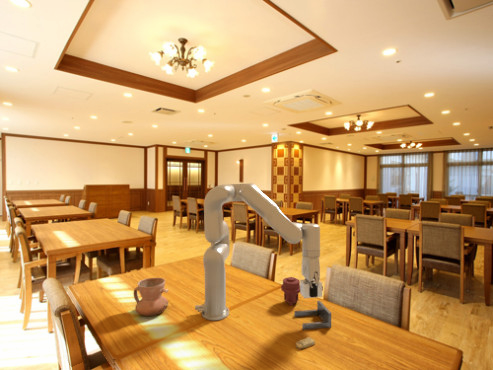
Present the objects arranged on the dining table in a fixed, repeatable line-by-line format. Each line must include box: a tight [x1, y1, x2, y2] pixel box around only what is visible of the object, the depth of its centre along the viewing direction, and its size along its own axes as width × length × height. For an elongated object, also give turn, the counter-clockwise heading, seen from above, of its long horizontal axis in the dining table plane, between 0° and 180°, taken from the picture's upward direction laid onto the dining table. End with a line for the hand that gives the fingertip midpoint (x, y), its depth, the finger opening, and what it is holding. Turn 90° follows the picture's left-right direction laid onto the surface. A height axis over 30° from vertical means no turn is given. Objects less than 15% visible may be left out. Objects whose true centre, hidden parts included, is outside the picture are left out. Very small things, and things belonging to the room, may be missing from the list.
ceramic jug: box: [133, 277, 169, 317], centre depth 125 cm, size 18×14×14 cm
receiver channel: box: [293, 300, 332, 331], centre depth 116 cm, size 12×11×6 cm
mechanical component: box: [281, 276, 300, 306], centre depth 133 cm, size 12×10×10 cm
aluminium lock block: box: [299, 278, 324, 299], centre depth 116 cm, size 9×5×6 cm, turn 99°
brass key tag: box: [295, 336, 316, 350], centre depth 100 cm, size 7×3×1 cm, turn 119°
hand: (311, 293), depth 116 cm, fingers closed on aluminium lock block, 5 cm apart
